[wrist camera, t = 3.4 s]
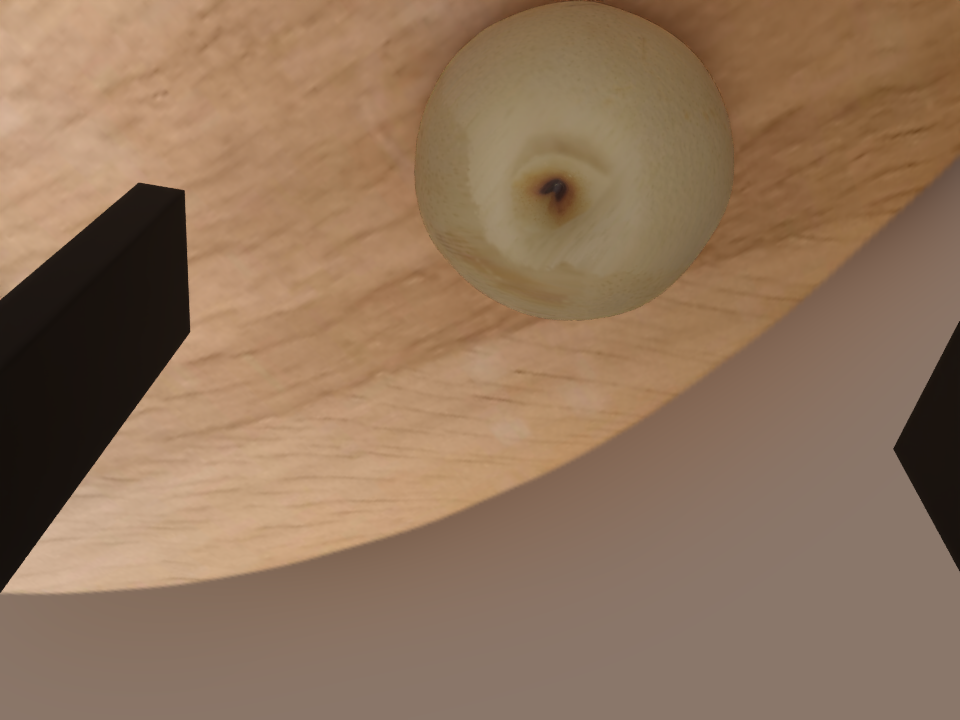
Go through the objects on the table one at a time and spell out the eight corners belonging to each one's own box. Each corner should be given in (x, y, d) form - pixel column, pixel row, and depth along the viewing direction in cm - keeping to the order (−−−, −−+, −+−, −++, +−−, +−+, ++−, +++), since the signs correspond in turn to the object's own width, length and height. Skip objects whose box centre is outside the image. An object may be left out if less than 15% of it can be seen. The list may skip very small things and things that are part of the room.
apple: (647, 307, 27) (510, 424, 22) (483, 123, 28) (311, 193, 22) (842, 137, 21) (719, 241, 16) (628, -89, 22) (444, -61, 17)
